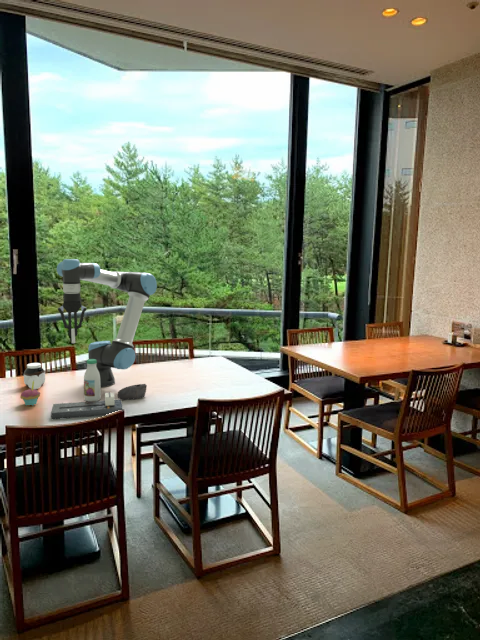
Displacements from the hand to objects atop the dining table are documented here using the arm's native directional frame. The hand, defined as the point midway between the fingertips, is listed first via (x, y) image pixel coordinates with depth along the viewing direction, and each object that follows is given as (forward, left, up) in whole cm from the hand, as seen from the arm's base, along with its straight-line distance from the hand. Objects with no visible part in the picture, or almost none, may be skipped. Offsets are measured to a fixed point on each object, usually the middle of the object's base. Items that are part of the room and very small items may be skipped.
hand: (73, 342), depth 225 cm
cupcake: (-2, -20, -30) cm, 36 cm away
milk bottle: (-3, +8, -30) cm, 31 cm away
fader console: (+15, +6, -29) cm, 34 cm away
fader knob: (+15, +16, -26) cm, 34 cm away
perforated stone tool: (0, +27, -30) cm, 40 cm away
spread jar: (-31, -21, -30) cm, 48 cm away
